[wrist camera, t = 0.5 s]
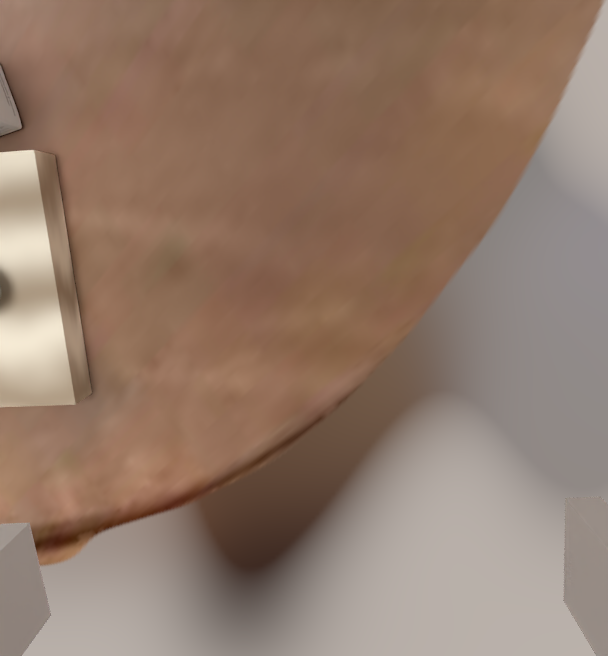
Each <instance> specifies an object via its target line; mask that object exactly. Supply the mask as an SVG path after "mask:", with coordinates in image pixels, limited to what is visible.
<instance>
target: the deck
mask: <svg viewBox="0 0 608 656" xmlns="http://www.w3.org/2000/svg"><path fill="white" fill-rule="evenodd" d="M0 285H1V290H2V294H1V299H0V407H19V406H49V405H76V404H77V403H79V402H80V401H82V400H83V399H84V398H86V397H87V396H89V395H90V394H92V389H91V383H90V376H89V370H88V364H87V357H86V351H85V344H84V338H83V331H82V325H81V319H80V312H79V306H78V299H77V293H76V286H75V280H74V274H73V267H72V261H71V254H70V248H69V242H68V235H67V229H66V222H65V216H64V209H63V203H62V197H61V190H60V184H59V177H58V171H57V164H56V158H55V155H53V154H49V153H45V152H41V151H37V150H25V151H12V152H0Z"/></svg>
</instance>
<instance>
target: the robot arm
mask: <svg viewBox="0 0 608 656" xmlns="http://www.w3.org/2000/svg"><path fill="white" fill-rule="evenodd" d="M564 556H565V557H564V602H565V604H566V605H567V607H568V609H569V610H570V612H571V614H572V616H573V617H574V619H575V621H576V622H577V624H578V626H579V627H580V629H581V631H582V632H583V634H584V636H585V637H586V639H587V641H588V642H589V644H590V646H591V648H592V649H593V651H594V653H595V654H596V656H608V505H607V503H606V502H605V501H604V500H603V499H602V498H601V497H583V498H566V501H565V554H564ZM50 616H51V613H50V608H49V604H48V600H47V596H46V592H45V587H44V583H43V579H42V574H41V570H40V566H39V561H38V557H37V553H36V549H35V544H34V540H33V536H32V532H31V527H30V523H13V524H1V525H0V656H22V654H23V653H24V652H25V650H26V649H27V648H28V646H29V645H30V644H31V642H32V641H33V639H34V638H35V637H36V635H37V634H38V633H39V631H40V630H41V628H42V627H43V626H44V624H45V623H46V622H47V620H48V619H49V617H50Z"/></svg>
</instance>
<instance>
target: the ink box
mask: <svg viewBox="0 0 608 656" xmlns="http://www.w3.org/2000/svg"><path fill="white" fill-rule="evenodd" d="M21 128H22V125H21V121H20V118H19V114H18V111H17V108H16V105H15V103H14V100H13V97H12V95H11V92H10V90H9V87H8V84H7V81H6V79H5V76H4V73H3V70H2V68H1V65H0V136H2V135H5V134H8V133H10V132H13V131H16V130H19V129H21Z"/></svg>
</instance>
